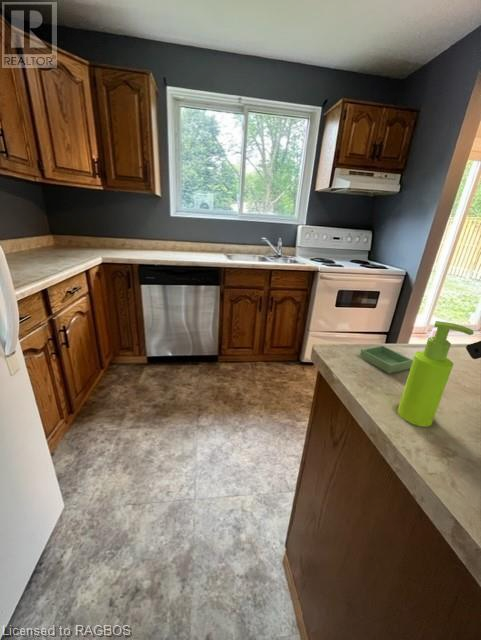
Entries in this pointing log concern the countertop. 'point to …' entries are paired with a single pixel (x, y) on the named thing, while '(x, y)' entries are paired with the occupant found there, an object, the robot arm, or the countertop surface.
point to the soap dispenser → (428, 377)
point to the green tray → (386, 359)
